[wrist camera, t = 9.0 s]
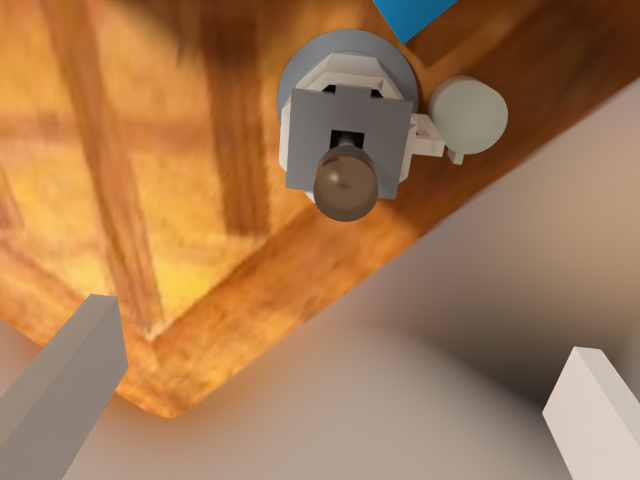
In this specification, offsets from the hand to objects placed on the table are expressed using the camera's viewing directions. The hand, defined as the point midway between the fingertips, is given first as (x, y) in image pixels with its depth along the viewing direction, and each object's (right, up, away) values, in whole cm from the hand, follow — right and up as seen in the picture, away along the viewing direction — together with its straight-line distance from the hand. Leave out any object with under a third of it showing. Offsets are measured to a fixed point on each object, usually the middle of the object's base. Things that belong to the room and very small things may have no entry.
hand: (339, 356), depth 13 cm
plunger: (+2, +14, +26) cm, 29 cm away
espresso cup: (+13, +17, +32) cm, 38 cm away
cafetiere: (+3, +17, +31) cm, 36 cm away
